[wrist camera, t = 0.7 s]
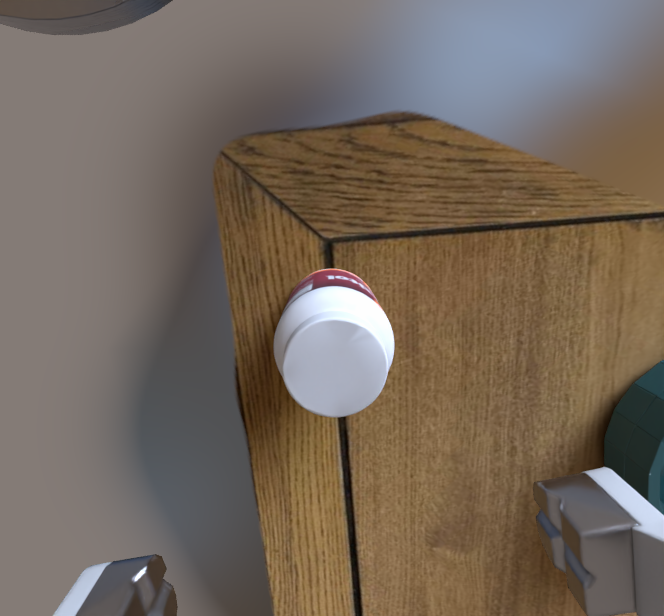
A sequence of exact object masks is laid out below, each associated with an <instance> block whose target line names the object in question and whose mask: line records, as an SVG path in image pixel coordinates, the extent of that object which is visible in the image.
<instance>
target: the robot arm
mask: <svg viewBox="0 0 664 616" xmlns="http://www.w3.org/2000/svg"><path fill="white" fill-rule="evenodd" d="M533 495H534V500H535V501H536V503H537V504H538V505H539V507H540V508H541V509H540V511H539V513H538V515H537V516H536V521H537V527H538V532H539V536H540V539H541V542H542V545H543V547H544V549H545V551H546V553H547V555H548V557H549V559H550V560H551V562H552V563H553V565H554V566H555V567H556V568H557V569H559V570H561V571H563V572H564V573H566V576H567V585H568V588H569V589H570V591H571V592H572V594H573V596H574V597H575V599H576V600H577V602H578V603H579V605H580V606H581V608H582V609H583V611H584V612H585V614H586V615H587V616H611V615H618V614H625V613H631V612H637V615H638V616H664V515H663V514H662V513H660V512H659V511H658V510H657V509H656V508H655V507H654V506H652V505H651V504H650V503H649V502H648V501H647V500H646V499H645V498H643V497H642V496H641V495H640V494H639V493H638V492H637V491H635V490H634V489H633V488H632V487H631V486H630V485H629V484H627V483H626V482H625V481H624V480H623V479H622V478H621V477H619V476H618V475H617V474H616V473H615V472H614V471H613V470H611V469H609V468H607V467H602V468H598V469H593V470H588V471H584V472H581V473H578V474H573V475H567V476H562V477H557V478H552V479H547V480H542V481H537V482H534V485H533ZM165 572H166V566H165V564H164V561H163V559H162V556H159V555H156V554H155V555H150V556H143V557H137V558H131V559H125V560H120V561H113V562H110V563H104V564H98V565H92V566H90V567H88V568H87V569H85V570H84V571H83V572H82V574H81V575H80V576H79V578H78V579H77V581H76V582H75V584H74V585H73V587H72V588H71V590H70V591H69V592H68V594H67V595H66V597H65V598H64V600H63V601H62V603H61V604H60V606H59V607H58V608H57V610H56V612H55V613H54V615H53V616H177V600H176V594H175V591H174V588H173V586H172V585H171V584H169V583H168V582H166V581H165V580H164V579H163V577H164V574H165Z"/></svg>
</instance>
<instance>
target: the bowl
mask: <svg viewBox="0 0 664 616" xmlns="http://www.w3.org/2000/svg"><path fill="white" fill-rule="evenodd" d="M604 465H605V467H607V468H609V469H611V470H613V471H614V472H615V473H616V474H617V475H618V476H619V477H621V478H622V479H623V480H624V481H625V482H626V483H627V484H629V485H630V486H631V487H632V488H633V489H634V490H635V491H637V492H638V493H639V494H640V495H641V496H642V497H643V498H645V499H646V500H647V501H648V502H649V503H650V504H651V505H652V506H654V507H655V508H656V509H657V510H658V511H659V512H660V513H662V514H663V515H664V360H662V361H660V362H659V363H658V364H656V365H655V366H654V367H653V368H651V369H650V370H649V371H648V372H647V373H645V374H644V375H643V376H642V377H640V378H639V379H638V380H637V381H635V382H634V384H632V385H631V386H630V388H629V389H628V391H627V392H626V393H625V395H624V396H623V398H622V399H621V400H620V402H619V403H618V404H617V406H616V407H615V409H614V411H613V414H612V417H611V420H610V423H609V425H608V428H607V431H606V434H605V438H604Z"/></svg>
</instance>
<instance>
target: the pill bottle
mask: <svg viewBox="0 0 664 616" xmlns="http://www.w3.org/2000/svg"><path fill="white" fill-rule="evenodd" d="M393 355H394V337H393V332H392V328H391V325H390V323H389V321H388V319H387V317H386V315H385V313H384V312H383V310H382V308H381V307H380V305H379V303H378V302H377V300H376V298H375V296H374V294H373V293H372V291H371V289H370V288H369V287H368V286H367V284H366V283H365V282H364V281H363V280H362V279H360V278H359V277H358V276H356V275H354V274H352V273H350V272H347V271H344V270H340V269H324V270H319V271H316V272H314V273H312V274H310V275H308V276H307V277H305V278H304V279H303V280H301V281H300V282H299V283H298V284H297V286H296V287H295V288H294V290H293V291H292V293H291V295H290V297H289V299H288V302H287V304H286V306H285V309H284V311H283V313H282V316H281V318H280V320H279V323H278V326H277V329H276V332H275V336H274V356H275V361H276V364H277V367H278V369H279V372H280V373H281V375H282V377H283V379H284V383H285V385H286V388H287V390H288V392H289V393H290V395H291V396H292V398H293V399H294V400H295V401H296V402H297V403H298V404H299V405H300V406H302V407H303V408H305V409H306V410H308V411H310V412H312V413H314V414H317V415H320V416H325V417H343V416H348V415H352V414H355V413H357V412H359V411H361V410H363V409H364V408H366V407H367V406H369V405H370V404H371V403H372V402H373V401H374V400H375V399H376V398H377V397H378V395H379V394H380V392H381V391H382V389H383V387H384V384H385V382H386V378H387V373H388V371H389V368H390V366H391V363H392V360H393Z"/></svg>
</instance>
